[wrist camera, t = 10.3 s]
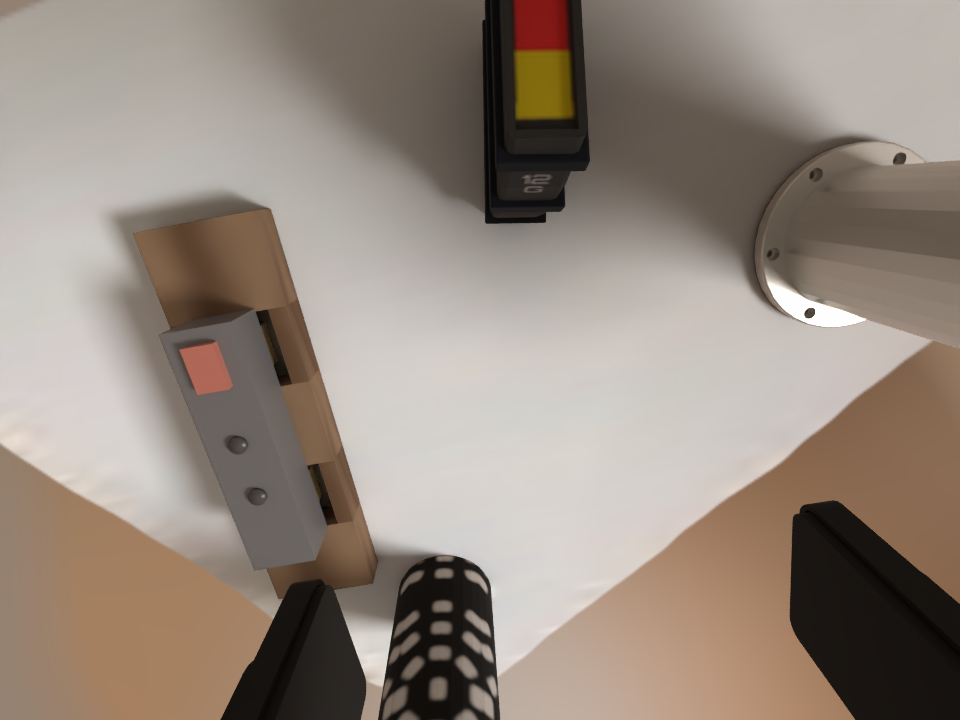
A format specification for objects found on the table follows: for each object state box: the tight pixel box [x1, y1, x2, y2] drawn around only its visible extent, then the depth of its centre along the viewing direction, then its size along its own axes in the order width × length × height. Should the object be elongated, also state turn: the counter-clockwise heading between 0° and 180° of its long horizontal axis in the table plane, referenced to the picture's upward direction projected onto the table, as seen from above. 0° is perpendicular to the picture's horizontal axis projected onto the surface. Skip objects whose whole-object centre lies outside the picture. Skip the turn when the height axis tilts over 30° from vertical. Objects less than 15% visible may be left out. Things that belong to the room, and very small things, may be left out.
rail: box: [133, 209, 378, 599], centre depth 37 cm, size 8×30×2 cm, turn 10°
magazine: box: [482, 0, 590, 224], centre depth 27 cm, size 4×13×15 cm, turn 1°
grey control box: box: [159, 309, 328, 570], centre depth 35 cm, size 4×18×7 cm, turn 10°
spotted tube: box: [378, 556, 500, 720], centre depth 35 cm, size 8×8×20 cm
